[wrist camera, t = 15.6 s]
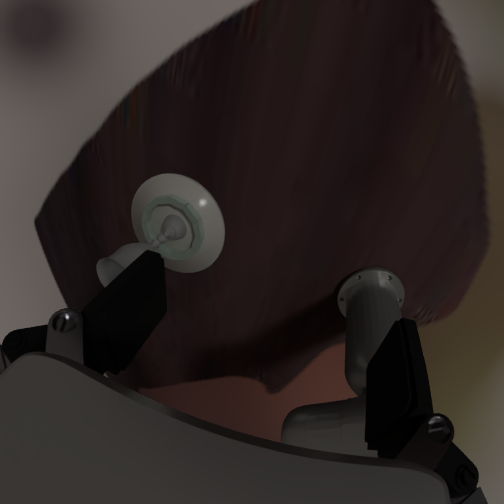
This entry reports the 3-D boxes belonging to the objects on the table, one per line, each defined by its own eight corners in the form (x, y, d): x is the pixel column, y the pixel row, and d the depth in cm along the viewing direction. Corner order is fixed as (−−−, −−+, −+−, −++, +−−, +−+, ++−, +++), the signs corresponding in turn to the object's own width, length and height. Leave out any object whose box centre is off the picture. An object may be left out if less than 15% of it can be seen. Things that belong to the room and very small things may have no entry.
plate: (247, 243, 49) (243, 249, 48) (176, 284, 59) (171, 290, 57) (178, 150, 44) (171, 153, 42) (118, 210, 54) (111, 214, 52)
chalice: (198, 227, 50) (142, 284, 34) (181, 251, 53) (128, 308, 38) (168, 201, 49) (102, 248, 34) (153, 226, 52) (92, 276, 37)
